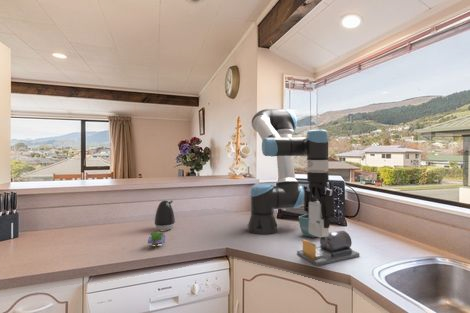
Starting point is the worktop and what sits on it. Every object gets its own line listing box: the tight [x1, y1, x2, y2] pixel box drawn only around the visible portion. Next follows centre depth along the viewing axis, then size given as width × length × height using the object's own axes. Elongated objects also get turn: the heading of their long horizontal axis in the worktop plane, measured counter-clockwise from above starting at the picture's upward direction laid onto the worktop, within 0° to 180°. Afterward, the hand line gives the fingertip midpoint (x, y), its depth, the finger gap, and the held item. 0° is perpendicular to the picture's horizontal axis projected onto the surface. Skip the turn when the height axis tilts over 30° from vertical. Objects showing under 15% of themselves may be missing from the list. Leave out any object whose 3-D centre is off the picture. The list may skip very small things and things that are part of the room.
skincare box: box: [309, 200, 323, 238], centre depth 91 cm, size 6×4×12 cm
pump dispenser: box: [154, 200, 176, 231], centre depth 128 cm, size 10×10×15 cm
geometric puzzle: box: [147, 229, 166, 247], centre depth 103 cm, size 7×7×8 cm
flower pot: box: [298, 213, 317, 238], centre depth 116 cm, size 9×9×9 cm
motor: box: [296, 230, 360, 267], centre depth 93 cm, size 11×20×8 cm, turn 112°
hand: (318, 233), depth 91 cm, fingers closed on skincare box, 6 cm apart
